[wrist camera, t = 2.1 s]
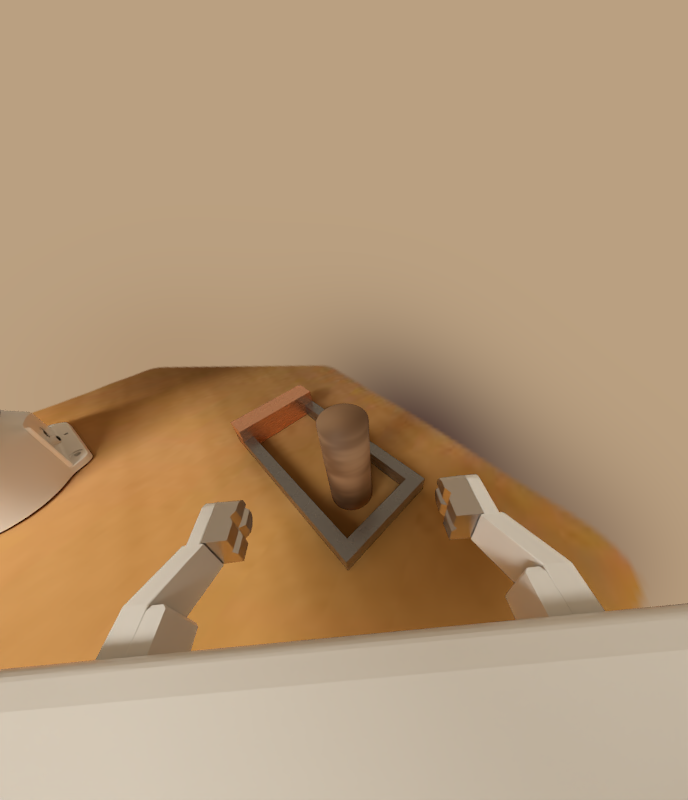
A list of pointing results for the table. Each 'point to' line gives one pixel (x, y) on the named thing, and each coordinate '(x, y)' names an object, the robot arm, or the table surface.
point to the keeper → (346, 454)
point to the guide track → (347, 550)
